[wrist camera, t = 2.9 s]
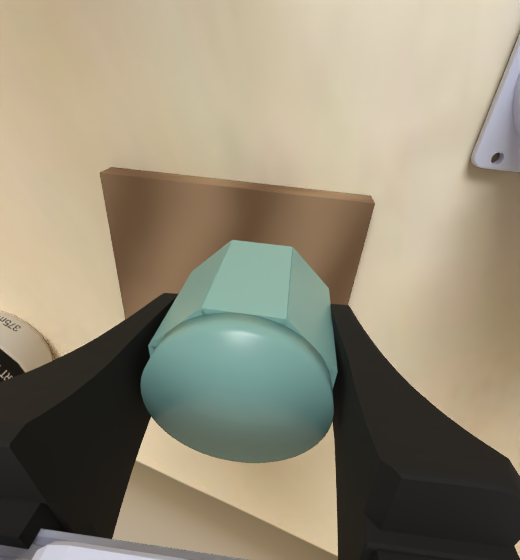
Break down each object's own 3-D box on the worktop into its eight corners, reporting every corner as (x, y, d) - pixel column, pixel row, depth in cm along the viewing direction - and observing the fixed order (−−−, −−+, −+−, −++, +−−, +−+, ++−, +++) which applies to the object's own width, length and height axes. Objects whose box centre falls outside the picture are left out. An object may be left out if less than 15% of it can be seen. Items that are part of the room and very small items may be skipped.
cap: (336, 251, 12) (353, 349, 8) (313, 359, 15) (316, 474, 10) (189, 234, 12) (127, 319, 8) (194, 343, 15) (151, 448, 11)
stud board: (370, 196, 17) (387, 226, 14) (318, 398, 26) (320, 449, 22) (111, 167, 18) (63, 189, 14) (143, 372, 26) (118, 418, 23)
